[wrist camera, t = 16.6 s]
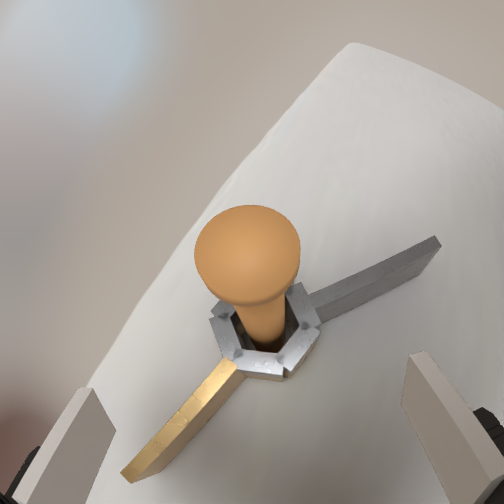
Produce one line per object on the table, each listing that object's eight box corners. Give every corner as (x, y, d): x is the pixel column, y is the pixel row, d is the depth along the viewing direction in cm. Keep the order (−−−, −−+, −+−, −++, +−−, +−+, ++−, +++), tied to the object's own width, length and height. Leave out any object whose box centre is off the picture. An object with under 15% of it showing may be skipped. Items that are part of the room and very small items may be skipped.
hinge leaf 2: (246, 395, 25) (236, 392, 20) (215, 314, 29) (199, 292, 24) (435, 303, 27) (462, 279, 22) (396, 238, 31) (413, 205, 26)
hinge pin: (302, 334, 28) (320, 237, 13) (273, 372, 26) (254, 321, 11) (264, 307, 29) (239, 190, 14) (235, 343, 28) (173, 258, 13)
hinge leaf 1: (328, 326, 28) (338, 306, 22) (185, 494, 21) (161, 511, 16) (264, 283, 30) (259, 254, 25) (127, 440, 24) (94, 443, 19)
